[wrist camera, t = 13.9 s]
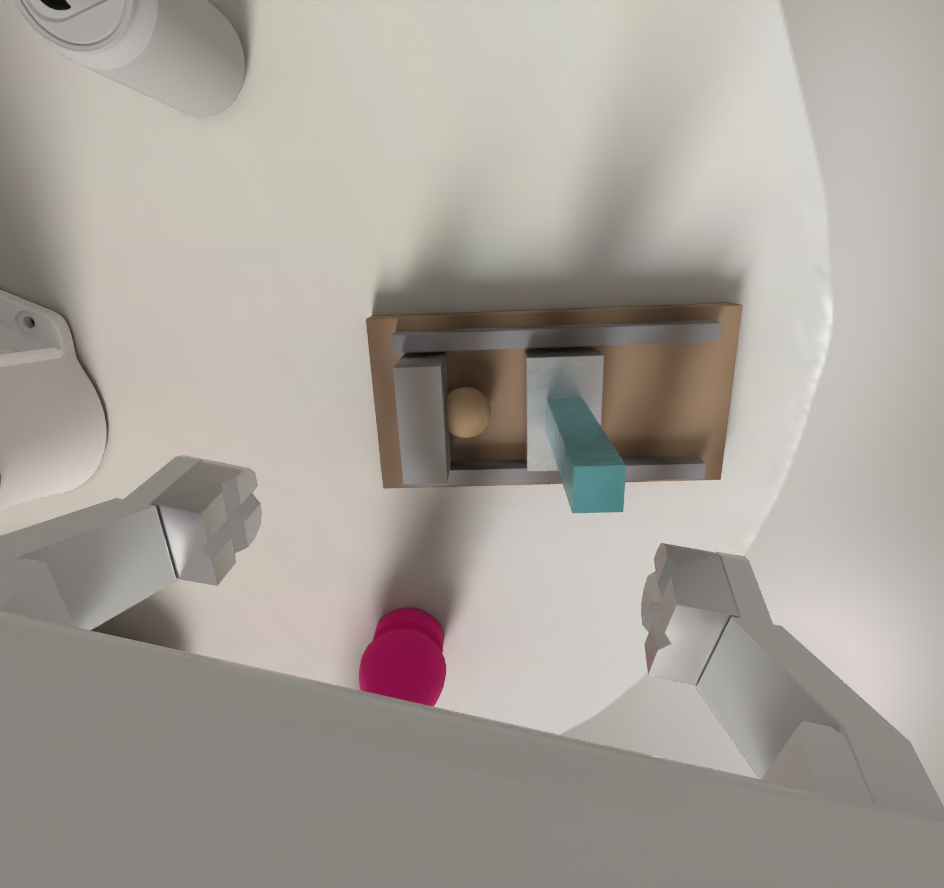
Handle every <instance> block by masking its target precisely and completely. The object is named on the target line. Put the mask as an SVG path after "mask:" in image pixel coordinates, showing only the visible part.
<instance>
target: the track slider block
mask: <svg viewBox="0 0 944 888" xmlns="http://www.w3.org/2000/svg"><path fill="white" fill-rule="evenodd" d="M603 364H604V355H603V354H602V353H600V352H599V351H598V350H597V349H596V348H572V349H543V350H524V449H525V461H526V466H527V471H559V474H560V477H561V480H562V483H563V486H564V489H565V492H566V495H567V498H568V501H569V504H570V507H571V510H572V513H599V512H623V505H624V489H625V472H626V464H625V463H624V461H623V460H622V458H621V457H620V455H619V454H618V452H617V451H616V449H615V447H614V446H613V444H612V443H611V441H610V440H609V438H608V437H607V435H606V434H605V432H604V430H603V429H602V427H601V411H602V388H603Z"/></svg>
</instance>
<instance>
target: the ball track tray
mask: <svg viewBox="0 0 944 888" xmlns="http://www.w3.org/2000/svg"><path fill="white" fill-rule="evenodd" d="M741 311H742V305H738V304H734V303H707V304H680V305H653V306H627V307H600V308H573V309H546V310H520V311H493V312H466V313H439V314H412V315H386V316H371V317H369V318H367V319H366V325H367V334H368V344H369V354H370V363H371V373H372V383H373V393H374V402H375V412H376V422H377V432H378V441H379V451H380V461H381V471H382V480H383V488H417V487H456V486H494V485H533V484H563V483H562V480H561V477H560V474H559V471H527V466H526V461H525V449H524V350H543V349H572V348H596V349H597V350H598V351H599V352H600V353H602V354H603V355H604V364H603V388H602V411H601V427H602V429H603V430H604V432H605V434H606V435H607V437H608V438H609V440H610V441H611V443H612V444H613V446H614V447H615V449H616V451H617V452H618V454H619V455H620V457H621V458H622V460H623V461H624V463H625V464H626V472H625V482H648V481H687V480H721V472H722V464H723V456H724V448H725V440H726V432H727V424H728V416H729V408H730V400H731V392H732V384H733V375H734V367H735V359H736V351H737V343H738V335H739V327H740V319H741Z"/></svg>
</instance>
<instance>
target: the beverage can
mask: <svg viewBox="0 0 944 888" xmlns="http://www.w3.org/2000/svg"><path fill="white" fill-rule="evenodd" d="M14 1H15V3H16V5H17V7H18V9H19V10H20V12H21V13H22V15H23V16H24V18H25V19H26V20H27V21H28V23H29V24H30V25H31V26H32V27H33V28H34V29H35V30H36V31H37V32H38V33H39V34H40V35H42V36H43V38H44V39H45V40H46V41H47V42H48V43H49V44H50V45H51V46H52V47H53V48H54V49H55V50H56V51H57V52H58V53H60V54H61V55H62V56H64V57H65V58H67V59H68V60H70V61H72V62H74V63H76V64H78V65H80V66H82V67H84V68H87V69H89V70H91V71H93V72H95V73H98V74H100V75H102V76H104V77H106V78H109V79H111V80H113V81H115V82H117V83H120V84H122V85H124V86H126V87H129V88H131V89H133V90H135V91H137V92H140V93H142V94H144V95H146V96H148V97H151V98H153V99H155V100H157V101H159V102H162V103H164V104H166V105H168V106H170V107H173V108H175V109H177V110H179V111H181V112H184V113H186V114H189V115H193V116H203V117H205V116H211V115H215V114H218V113H220V112H222V111H224V110H225V109H227V108H228V107H229V106H230V105H231V104H232V103H233V102H234V101H235V99H236V98H237V96H238V94H239V92H240V90H241V88H242V85H243V81H244V76H245V58H244V52H243V48H242V45H241V42H240V39H239V37H238V35H237V33H236V31H235V29H234V27H233V26H232V24H231V23H230V22H229V20H228V19H227V18H226V17H225V16H224V14H223V13H222V12H220V11H219V10H218V9H217V8H216V7H215V6H214V5H213V4H212V3H210V2H209V1H208V0H14Z"/></svg>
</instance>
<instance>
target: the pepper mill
mask: <svg viewBox="0 0 944 888" xmlns="http://www.w3.org/2000/svg"><path fill="white" fill-rule="evenodd" d="M443 642H444V635H443V631H442V628H441V626H440V625H439V623H438V622H437V621H436V620H435V619H434V617H432V616H431V615H429V614H427V613H426V612H423V611H420V610H418V609H411V608H406V609H399V610H395V611H392V612H390V613H389V614H387V615H386V616H384V617H383V618H382V619H381V621H380V622H379V624H378V625H377V628H376V631H375V635H374V639H373V641H372V642H371V643H370V644H369V645H368V647H367V648H366V650H365V652H364V654H363V656H362V659H361V664H360V669H359V684H360V690H361V691H365V692H369V693H374V694H378V695H383V696H387V697H392V698H396V699H401V700H405V701H410V702H414V703H419V704H423V705H428V706H432V707H434V705H435V704H436V702H437V700H438V698H439V696H440V694H441V692H442V689H443V686H444V681H445V676H446V663H445V659H444V656H443V654H442V652H443Z"/></svg>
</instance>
